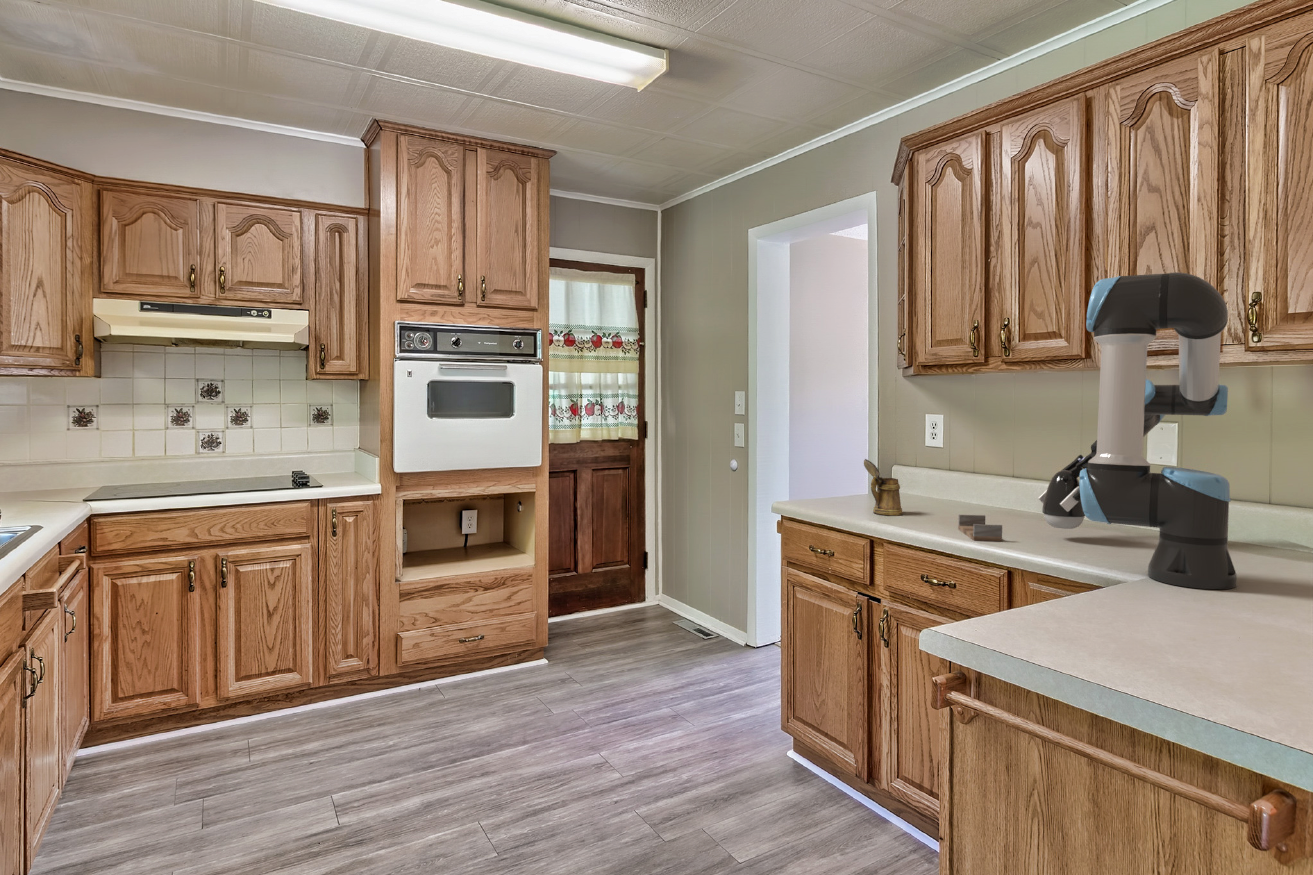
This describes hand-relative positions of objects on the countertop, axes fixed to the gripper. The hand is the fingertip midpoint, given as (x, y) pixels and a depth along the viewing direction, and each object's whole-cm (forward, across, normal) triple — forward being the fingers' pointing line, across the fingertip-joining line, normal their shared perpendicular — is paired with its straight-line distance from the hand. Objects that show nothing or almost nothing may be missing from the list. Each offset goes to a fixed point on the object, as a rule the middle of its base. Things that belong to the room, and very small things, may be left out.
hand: (1052, 504), depth 199 cm
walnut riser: (+18, +7, +5) cm, 20 cm away
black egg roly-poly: (+2, 0, -6) cm, 7 cm away
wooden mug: (+29, +42, +15) cm, 54 cm away
